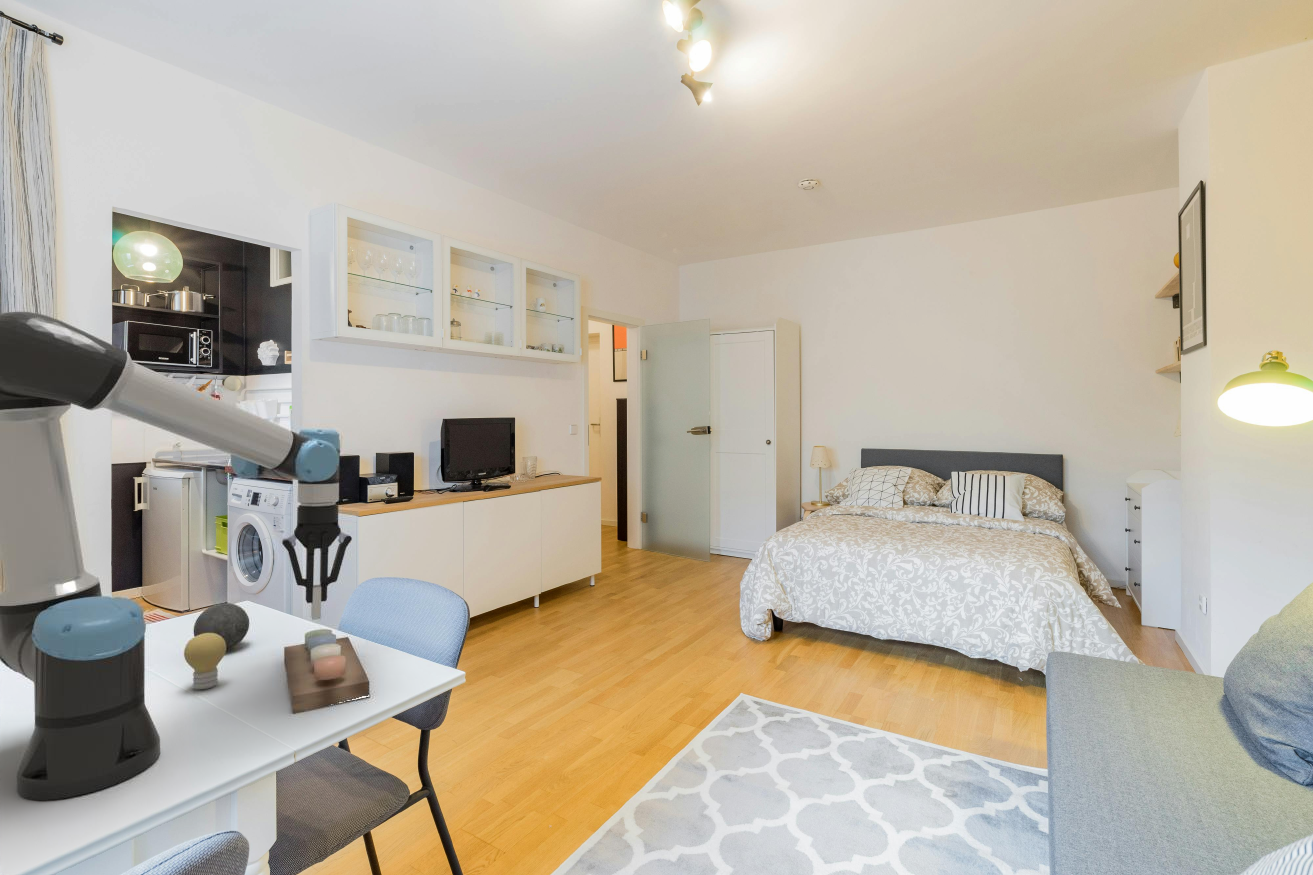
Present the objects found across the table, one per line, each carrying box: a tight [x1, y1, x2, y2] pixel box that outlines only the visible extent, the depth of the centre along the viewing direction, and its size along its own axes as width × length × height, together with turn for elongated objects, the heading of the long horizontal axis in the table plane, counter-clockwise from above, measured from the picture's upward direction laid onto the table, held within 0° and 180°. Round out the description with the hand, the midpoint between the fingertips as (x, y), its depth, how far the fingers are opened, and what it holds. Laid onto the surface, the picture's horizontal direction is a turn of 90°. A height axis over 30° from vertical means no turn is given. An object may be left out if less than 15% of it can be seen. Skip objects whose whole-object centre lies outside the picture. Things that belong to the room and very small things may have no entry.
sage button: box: [304, 628, 333, 649], centre depth 131 cm, size 5×5×3 cm
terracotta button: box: [314, 655, 345, 680], centre depth 114 cm, size 5×5×3 cm
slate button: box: [308, 633, 337, 655], centre depth 126 cm, size 5×5×3 cm
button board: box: [283, 636, 370, 714], centre depth 123 cm, size 12×28×3 cm, turn 33°
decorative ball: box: [193, 602, 250, 651], centre depth 138 cm, size 10×10×10 cm
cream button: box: [311, 644, 341, 666], centre depth 120 cm, size 5×5×3 cm
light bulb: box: [183, 633, 227, 691], centre depth 118 cm, size 6×6×10 cm
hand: (315, 617), depth 131 cm, fingers closed
